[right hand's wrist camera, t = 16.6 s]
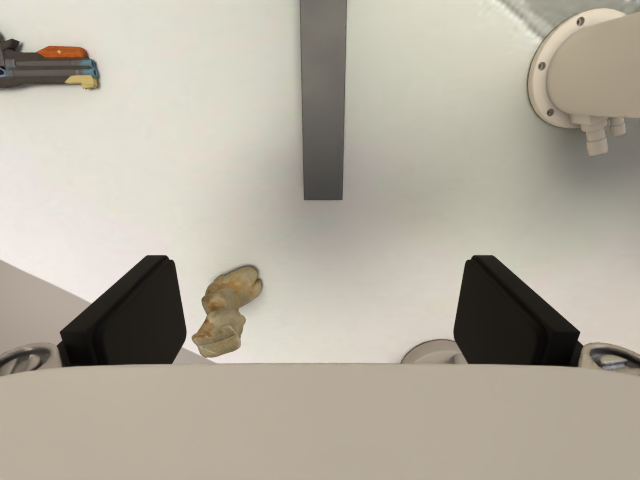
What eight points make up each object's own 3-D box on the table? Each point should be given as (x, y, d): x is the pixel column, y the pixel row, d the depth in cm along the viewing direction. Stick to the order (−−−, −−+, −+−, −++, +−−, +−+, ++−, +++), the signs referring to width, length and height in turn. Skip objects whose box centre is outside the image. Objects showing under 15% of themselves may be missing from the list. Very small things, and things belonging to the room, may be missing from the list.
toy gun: (-117, -15, 36) (-85, 89, 38) (73, -14, 37) (91, 86, 39) (-89, -4, 38) (-61, 92, 41) (88, -4, 39) (104, 90, 42)
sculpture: (267, 292, 52) (248, 361, 38) (222, 302, 53) (187, 373, 39) (255, 258, 50) (230, 318, 36) (208, 269, 51) (166, 332, 37)
